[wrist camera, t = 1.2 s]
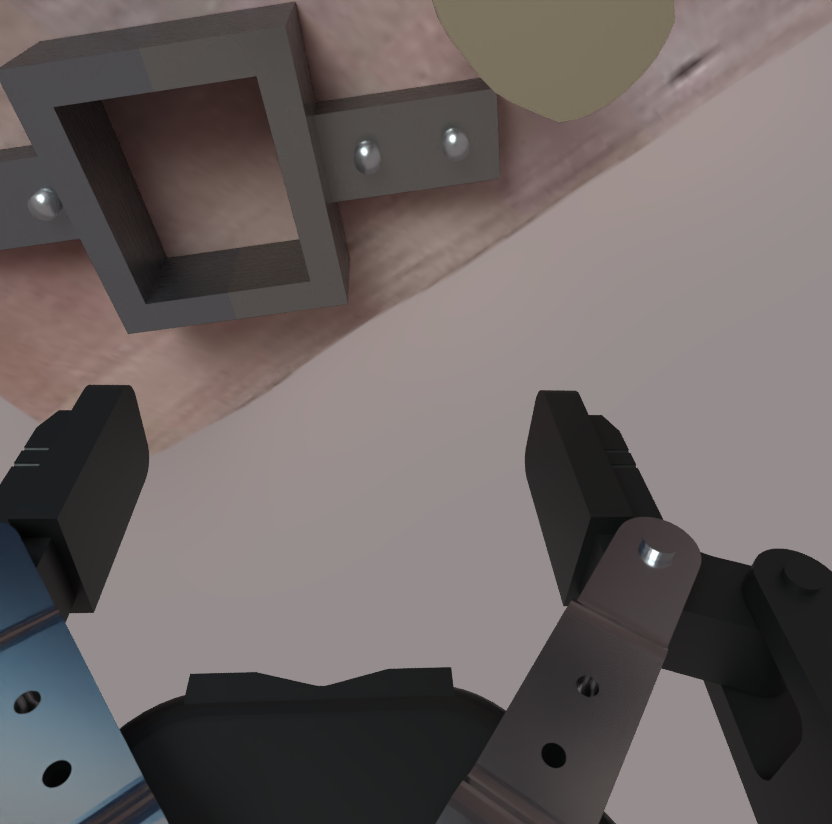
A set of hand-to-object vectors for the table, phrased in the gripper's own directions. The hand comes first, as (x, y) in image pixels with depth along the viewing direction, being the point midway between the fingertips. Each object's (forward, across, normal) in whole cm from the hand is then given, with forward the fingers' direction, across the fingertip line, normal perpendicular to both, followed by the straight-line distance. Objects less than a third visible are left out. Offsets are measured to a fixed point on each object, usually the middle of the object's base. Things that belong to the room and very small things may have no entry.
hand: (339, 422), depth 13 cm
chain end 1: (+22, +13, +3) cm, 26 cm away
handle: (+22, -5, -8) cm, 24 cm away
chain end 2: (+22, 0, 0) cm, 22 cm away
